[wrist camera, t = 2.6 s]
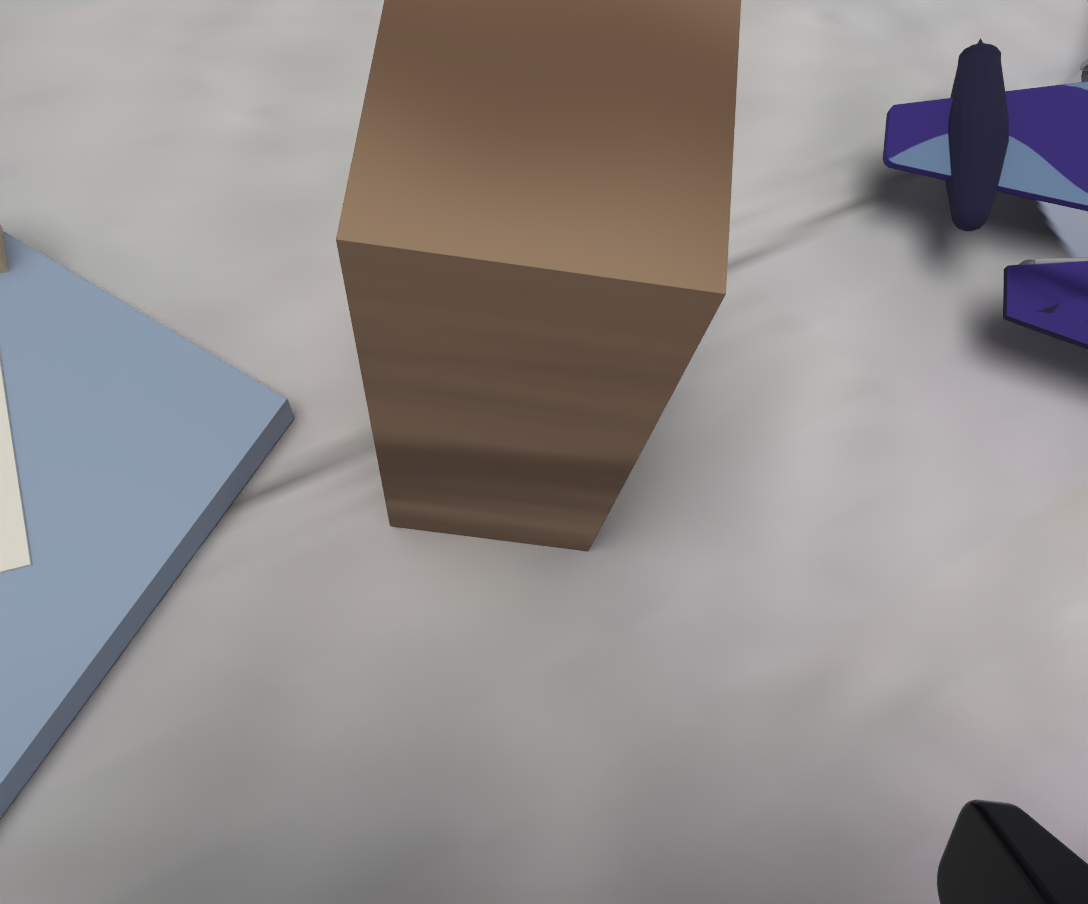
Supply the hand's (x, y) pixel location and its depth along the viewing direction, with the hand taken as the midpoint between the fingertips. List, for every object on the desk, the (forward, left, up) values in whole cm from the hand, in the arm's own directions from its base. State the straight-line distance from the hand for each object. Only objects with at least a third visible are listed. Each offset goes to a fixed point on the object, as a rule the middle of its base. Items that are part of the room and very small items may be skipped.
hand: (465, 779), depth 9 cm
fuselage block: (+3, -7, -13) cm, 16 cm away
